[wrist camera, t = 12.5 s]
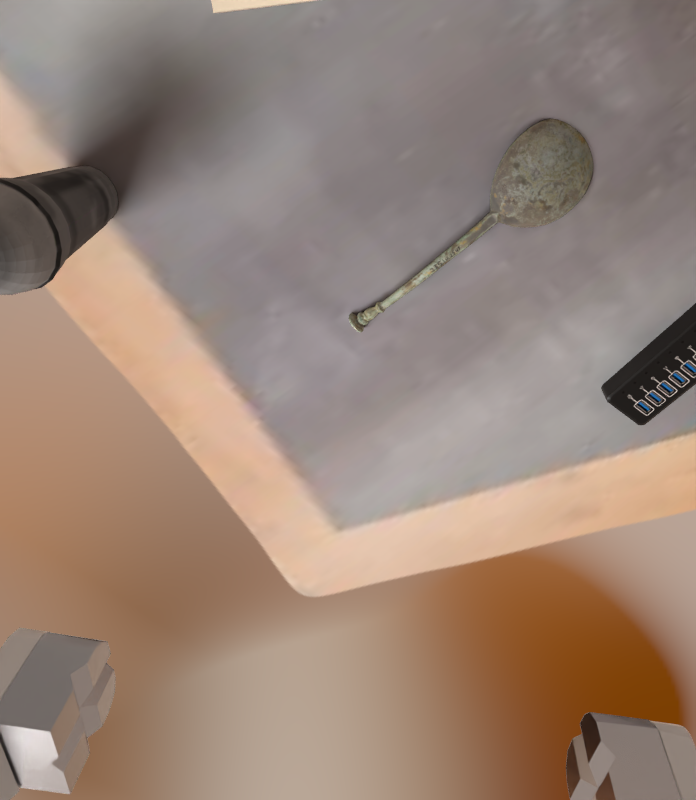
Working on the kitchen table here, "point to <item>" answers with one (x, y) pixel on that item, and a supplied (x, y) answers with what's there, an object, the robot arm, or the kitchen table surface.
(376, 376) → the kitchen table surface
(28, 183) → the beverage cup
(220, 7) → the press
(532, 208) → the soupspoon
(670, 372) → the multiport hub
